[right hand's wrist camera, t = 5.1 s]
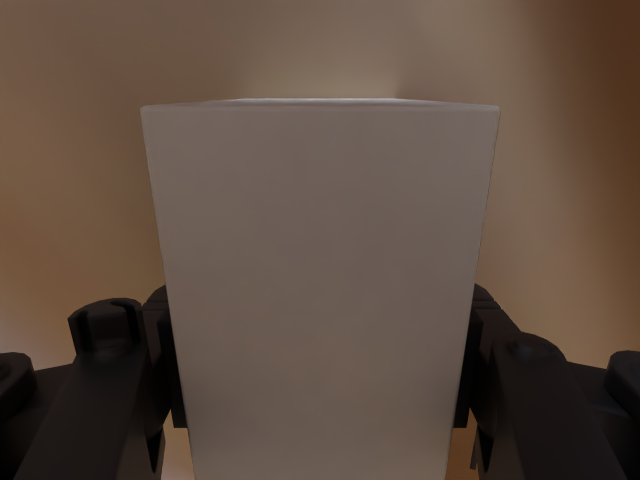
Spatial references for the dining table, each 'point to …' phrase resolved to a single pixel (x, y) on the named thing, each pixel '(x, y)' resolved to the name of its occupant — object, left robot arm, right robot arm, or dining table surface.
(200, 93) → the dining table surface
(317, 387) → the bar
